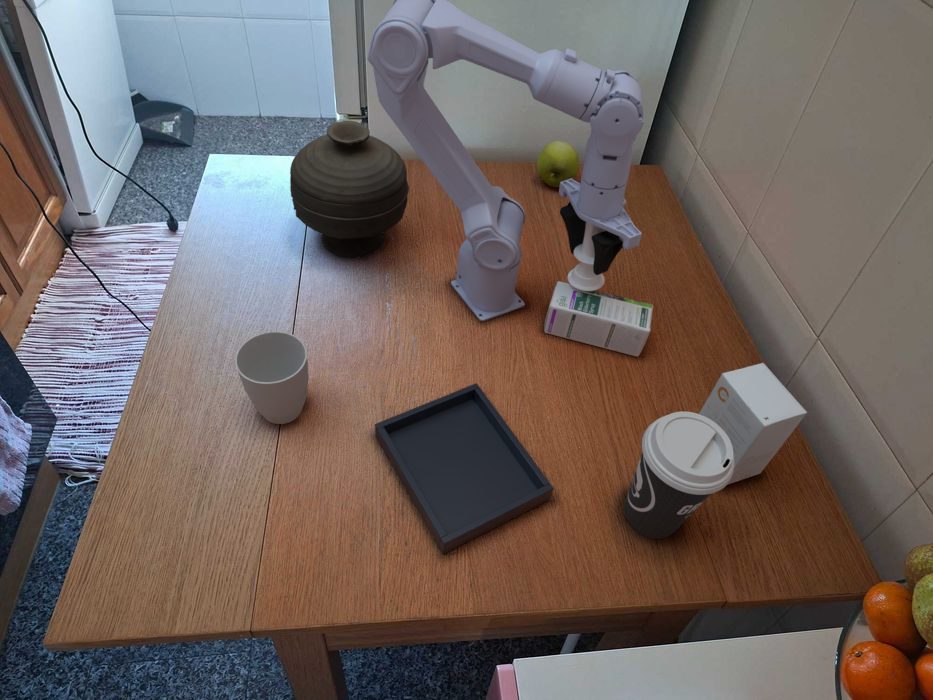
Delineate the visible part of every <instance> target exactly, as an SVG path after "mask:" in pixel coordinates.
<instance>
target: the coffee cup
mask: <svg viewBox="0 0 933 700" xmlns="http://www.w3.org/2000/svg"><path fill="white" fill-rule="evenodd" d="M641 451H642V452H641V454H640V457H639V461H638V463H637V466H636V468H635V472H634V474H633V477H632V480H631V483H630V486H629V488H628V491H627V494H626V497H625V500H624V504H623V513H624V517H625V520H626V521H627V523H628V524H629V525H630V527H631V528H632V529H633V530H634V531H635V532H636V533H638V534H640V535H641V536H643V537H646V538H648V539H652V540H661V539H666V538H668V537H671V536H672V535H673V534H674V533H675V532H676V531H677V530H678V528H679V527H681V526H682V525H683V524H684V523H685V521H687V519H689V517H690V516H691V515H692V514H693V513H694V512H695V511H696V510H697V509H698V508H699V507H700V506H701V505H702V504H703V503H704V502H705V501H706V500H707V499H708V498H709V497H710V496H711V495H712V494H714V493H717V492H720V491H722V490H723V489H724V488H726V487H727V484H728V483H729V481H730V480H731V478H732V475H733V471H734V454H733V447H732V444H731V441H730V439H729V437H728V436H727V434H726V433H725V432H724V430H723V429H722V428H721V427H720V426H719V425H717V424H716V423H715V422H713V421H712V420H710V419H709V418H707V417H705V416H702V415H700V414H699V413H696V412H692V411H676V412H672V413H668V414H667V415H663V416H661V417H660V418H658V419H656V420H654V421H653V422H652V423H651V424H650V425H648V427H646V428H645V431H644V432H643V435H642V439H641ZM728 485H729V484H728Z"/></svg>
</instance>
